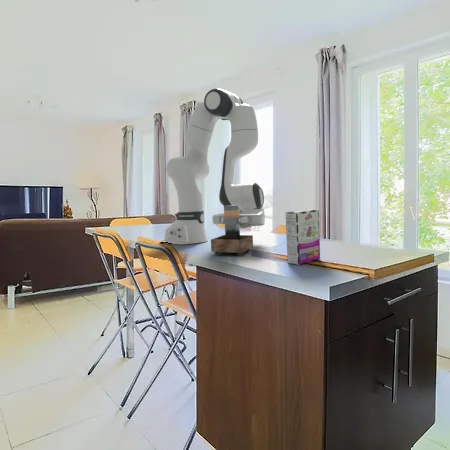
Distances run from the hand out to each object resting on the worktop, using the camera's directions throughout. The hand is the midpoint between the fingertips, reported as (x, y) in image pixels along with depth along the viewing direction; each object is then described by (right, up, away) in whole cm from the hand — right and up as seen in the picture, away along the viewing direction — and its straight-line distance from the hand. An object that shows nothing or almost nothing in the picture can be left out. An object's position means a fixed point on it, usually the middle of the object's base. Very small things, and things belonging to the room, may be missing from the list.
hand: (231, 220), depth 132 cm
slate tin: (+1, -7, +2) cm, 8 cm away
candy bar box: (+23, -13, -17) cm, 32 cm away
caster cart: (+1, -12, +2) cm, 12 cm away
